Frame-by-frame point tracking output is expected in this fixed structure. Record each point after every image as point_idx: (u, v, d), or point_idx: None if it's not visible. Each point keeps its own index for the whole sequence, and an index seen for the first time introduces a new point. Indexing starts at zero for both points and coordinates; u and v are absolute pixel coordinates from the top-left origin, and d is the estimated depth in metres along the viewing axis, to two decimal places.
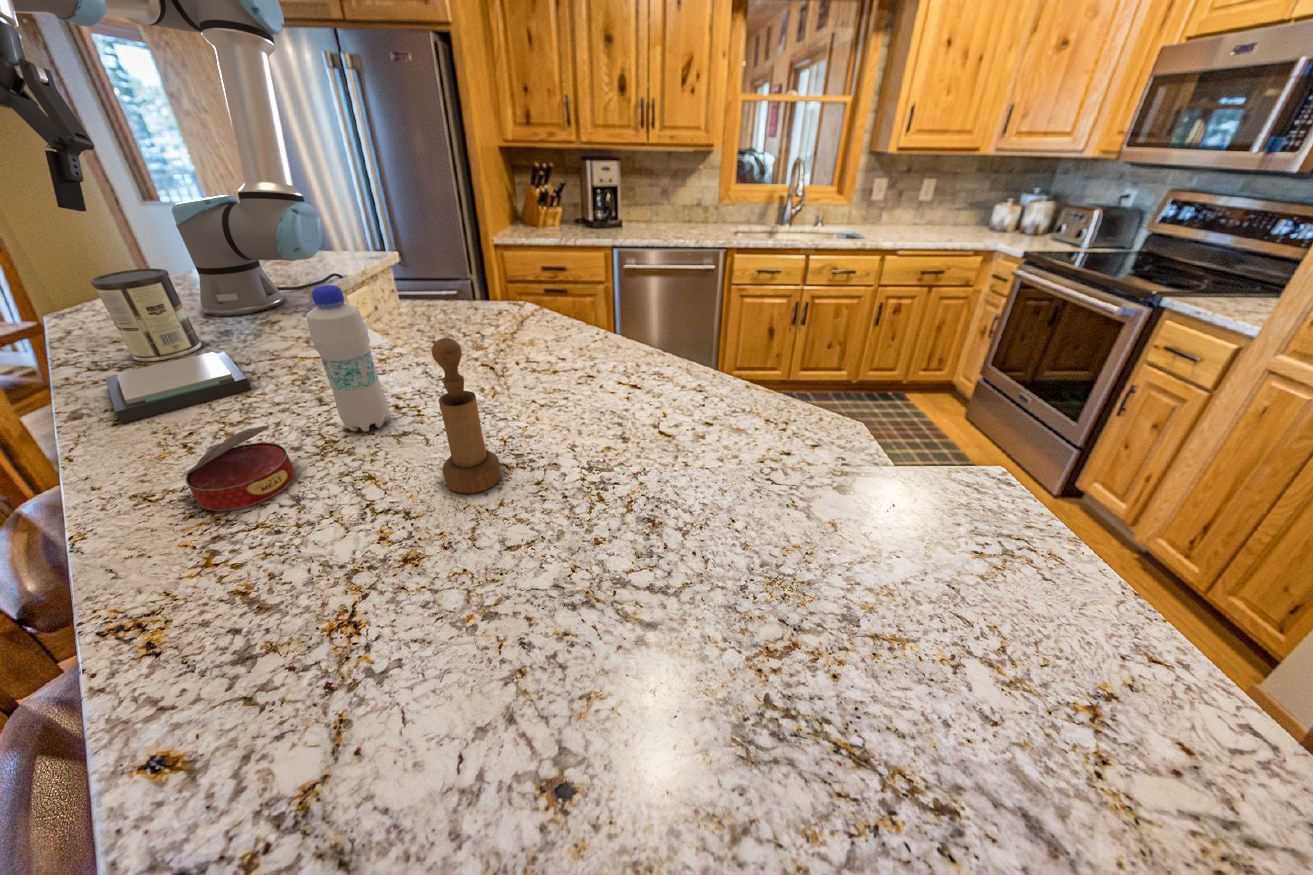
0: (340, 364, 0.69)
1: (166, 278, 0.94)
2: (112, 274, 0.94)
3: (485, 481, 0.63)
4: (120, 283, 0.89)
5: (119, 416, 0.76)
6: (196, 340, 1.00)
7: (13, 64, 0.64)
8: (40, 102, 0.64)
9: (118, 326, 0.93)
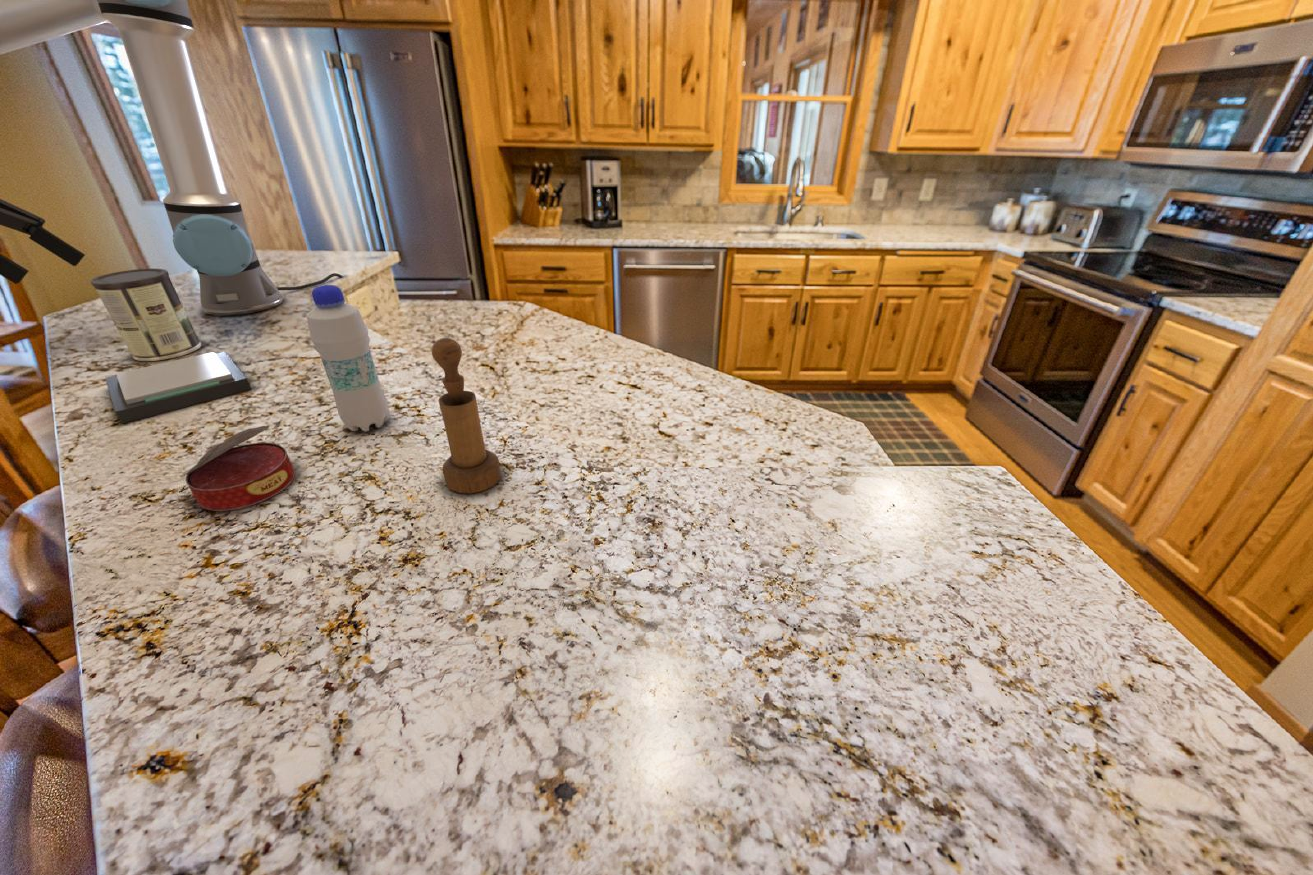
0: (340, 364, 0.69)
1: (166, 278, 0.94)
2: (112, 274, 0.94)
3: (485, 481, 0.63)
4: (120, 283, 0.89)
5: (119, 416, 0.76)
6: (196, 340, 1.00)
7: None
8: None
9: (118, 326, 0.93)
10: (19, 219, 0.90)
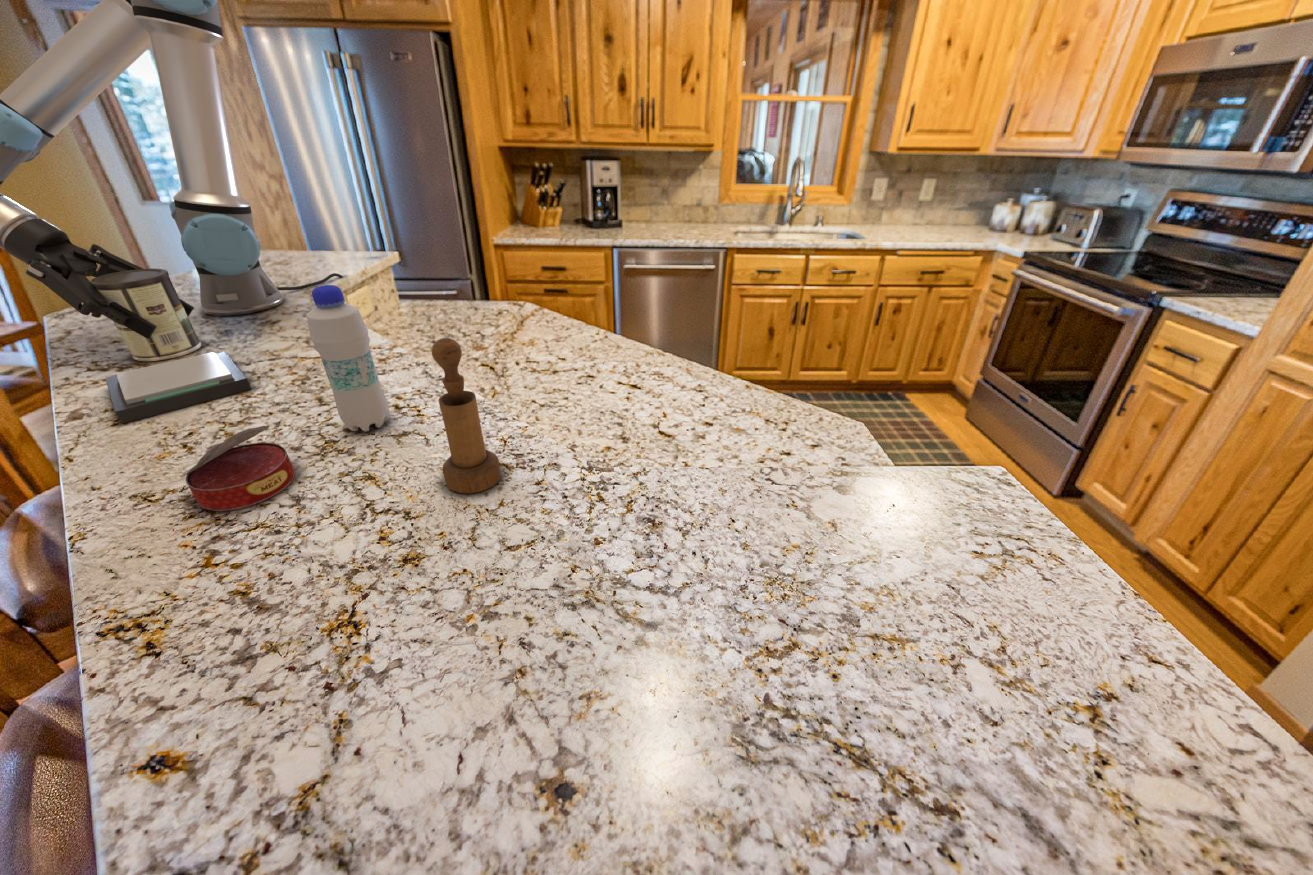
0: (340, 364, 0.69)
1: (166, 278, 0.94)
2: (112, 274, 0.94)
3: (485, 481, 0.63)
4: (120, 283, 0.89)
5: (119, 416, 0.76)
6: (196, 340, 1.00)
7: (39, 259, 0.86)
8: None
9: (118, 326, 0.93)
10: None
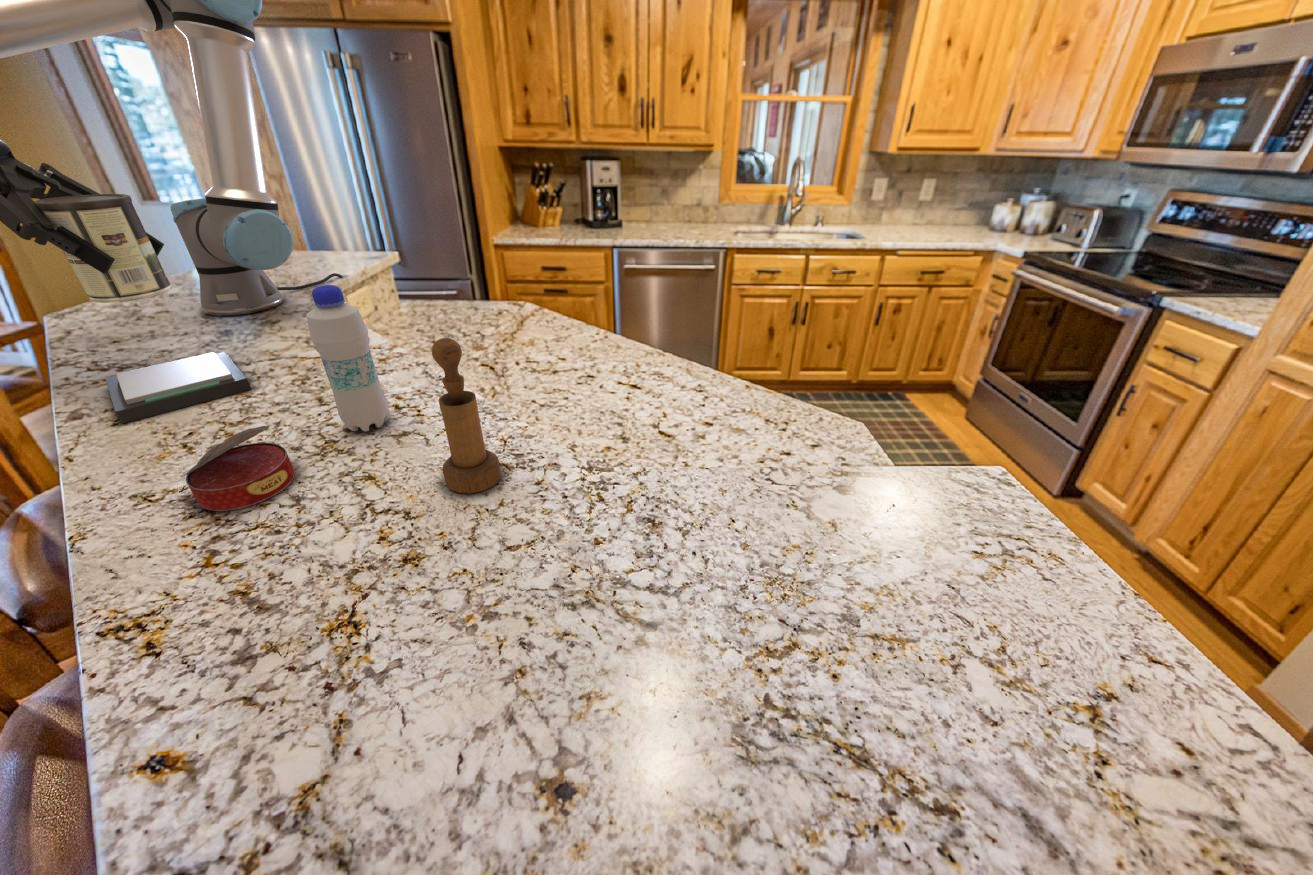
0: (340, 364, 0.69)
1: (128, 203, 0.79)
2: (64, 197, 0.79)
3: (485, 481, 0.63)
4: (69, 203, 0.74)
5: (119, 416, 0.76)
6: (165, 282, 0.85)
7: None
8: None
9: (69, 258, 0.78)
10: None
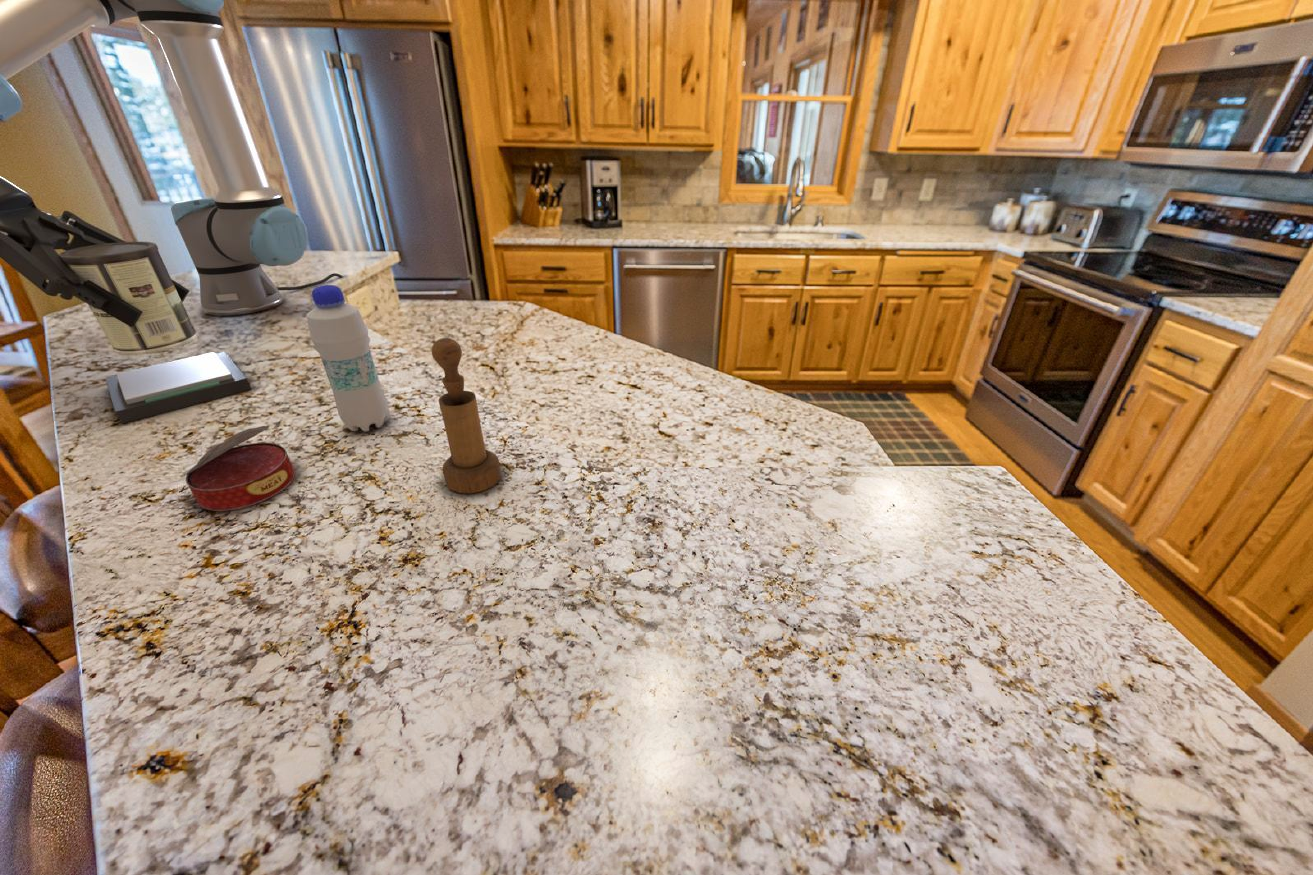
0: (340, 364, 0.69)
1: (155, 253, 0.76)
2: (88, 247, 0.76)
3: (485, 481, 0.63)
4: (96, 257, 0.71)
5: (119, 416, 0.76)
6: (192, 330, 0.82)
7: None
8: None
9: (94, 311, 0.75)
10: None
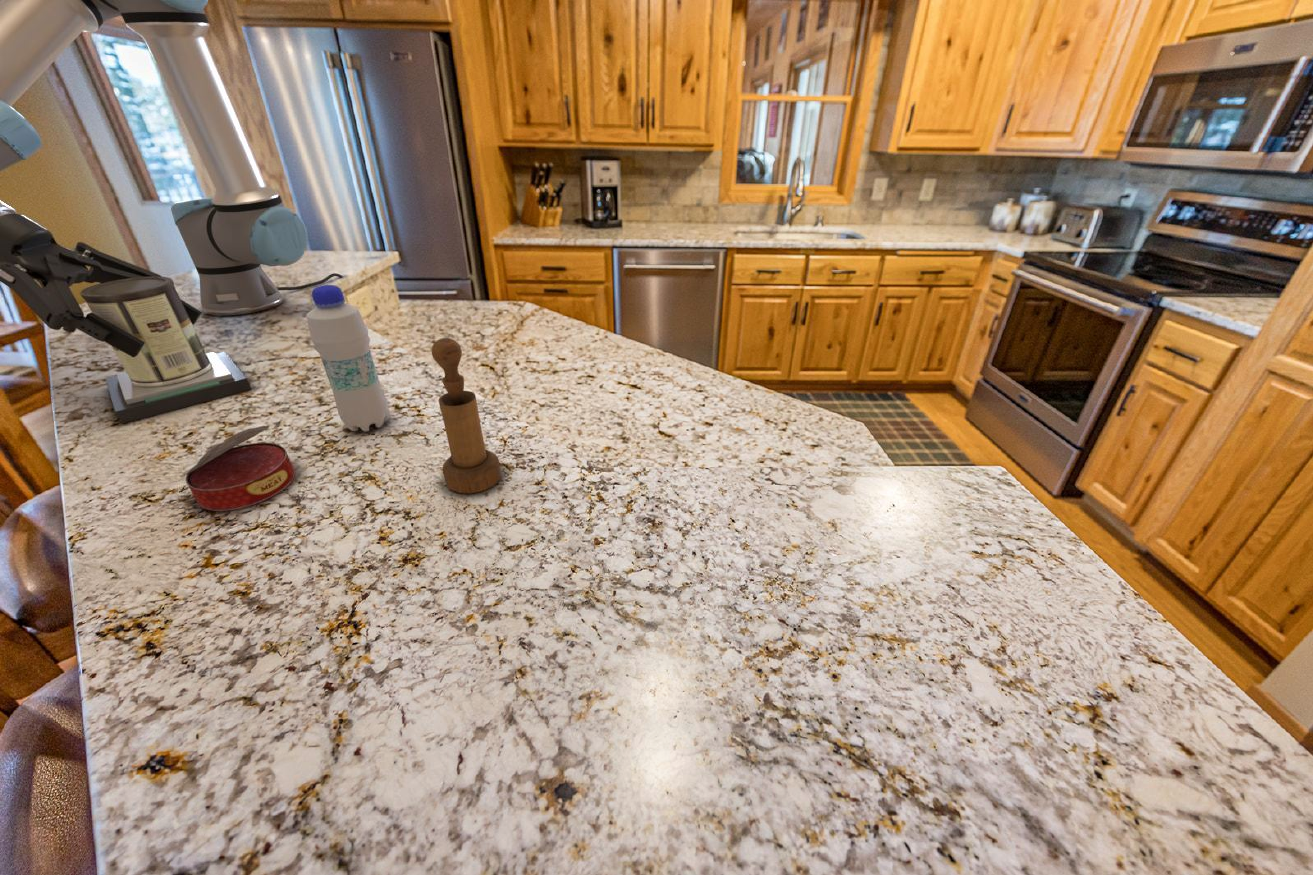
0: (340, 364, 0.69)
1: (171, 288, 0.79)
2: (106, 283, 0.78)
3: (485, 481, 0.63)
4: (116, 295, 0.73)
5: (119, 416, 0.76)
6: (206, 360, 0.85)
7: (16, 263, 0.71)
8: None
9: None
10: None
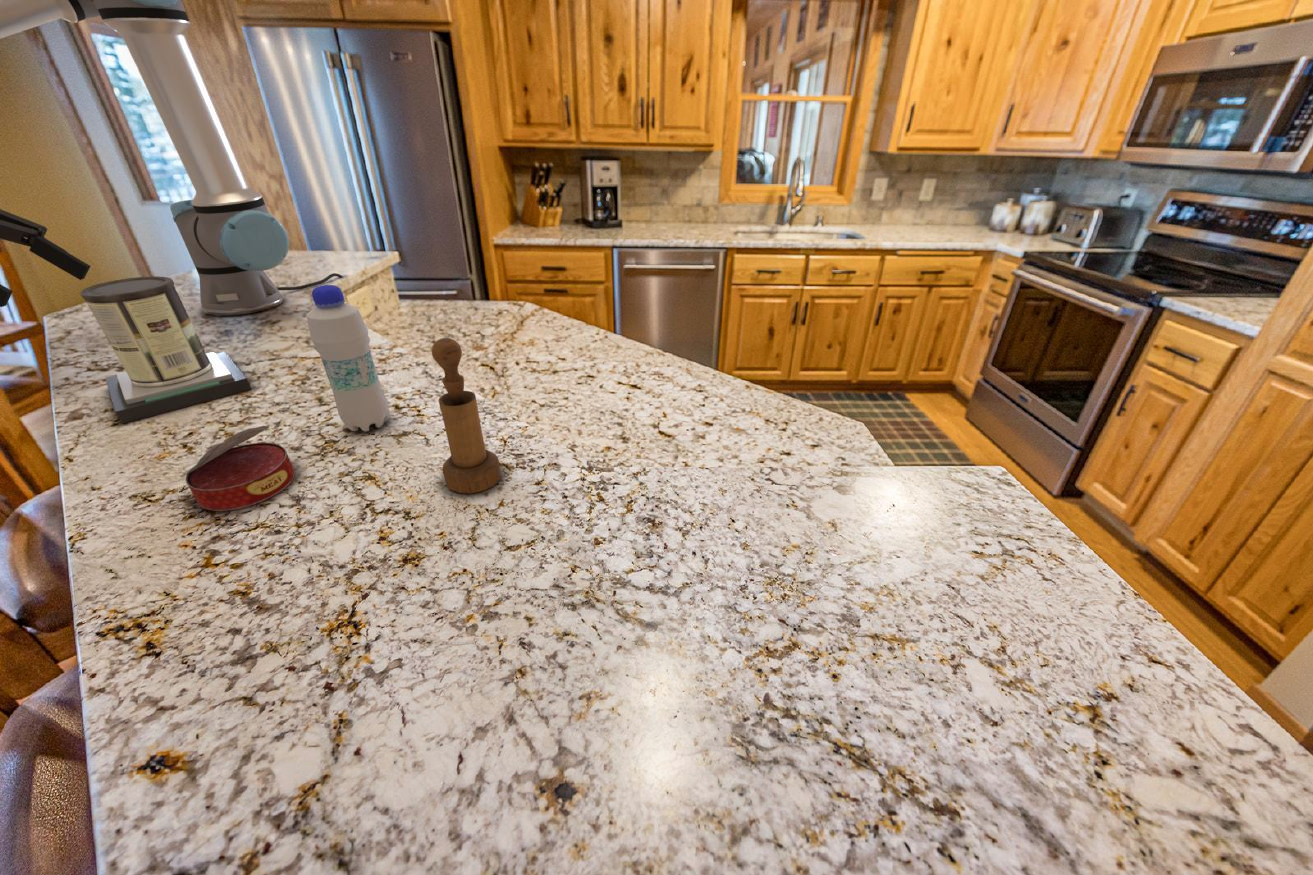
0: (340, 364, 0.69)
1: (171, 288, 0.79)
2: (106, 283, 0.78)
3: (485, 481, 0.63)
4: (116, 295, 0.73)
5: (119, 416, 0.76)
6: (206, 360, 0.85)
7: None
8: None
9: (114, 346, 0.77)
10: (14, 229, 0.78)
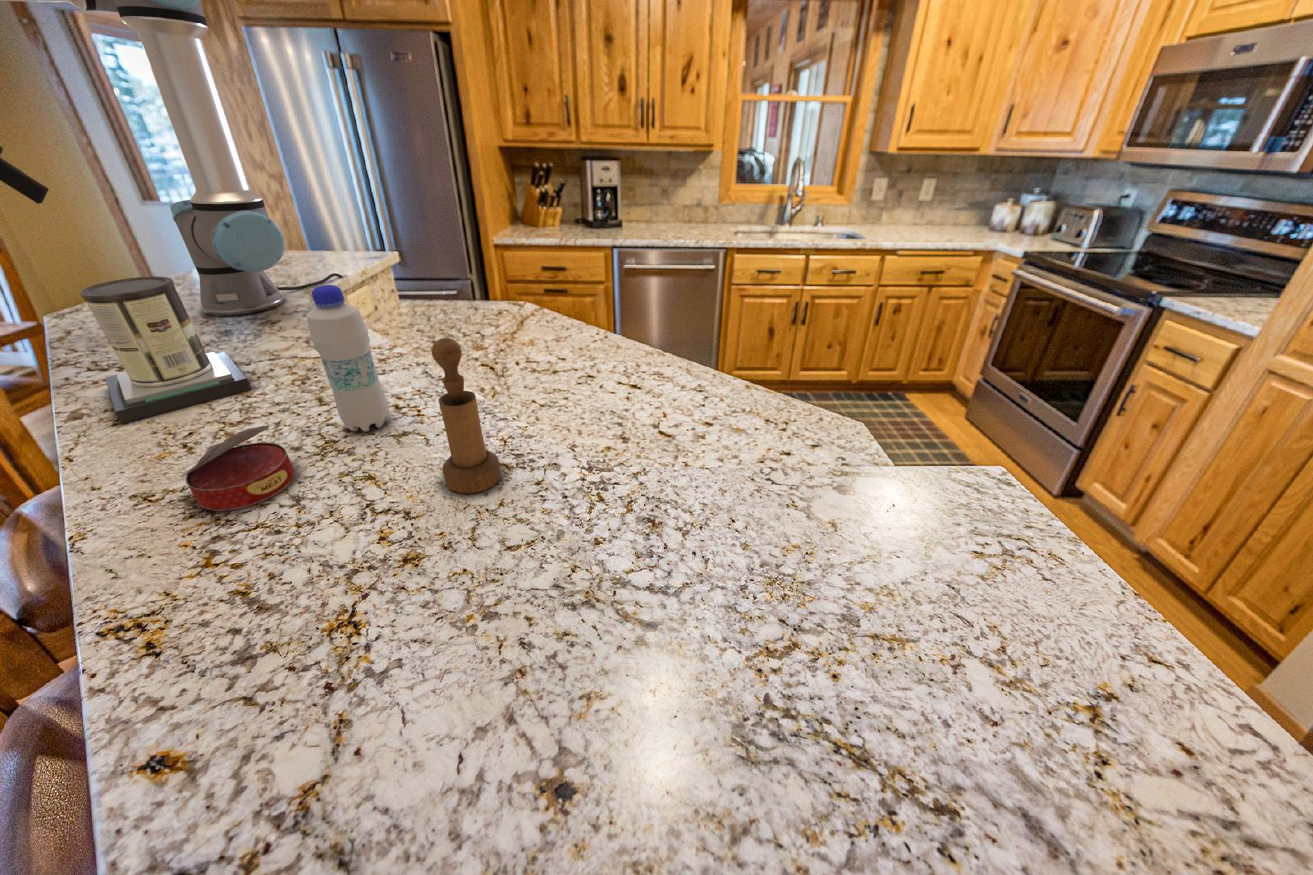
0: (340, 364, 0.69)
1: (171, 288, 0.79)
2: (106, 283, 0.78)
3: (485, 481, 0.63)
4: (116, 295, 0.73)
5: (119, 416, 0.76)
6: (206, 360, 0.85)
7: None
8: None
9: (114, 346, 0.77)
10: None
